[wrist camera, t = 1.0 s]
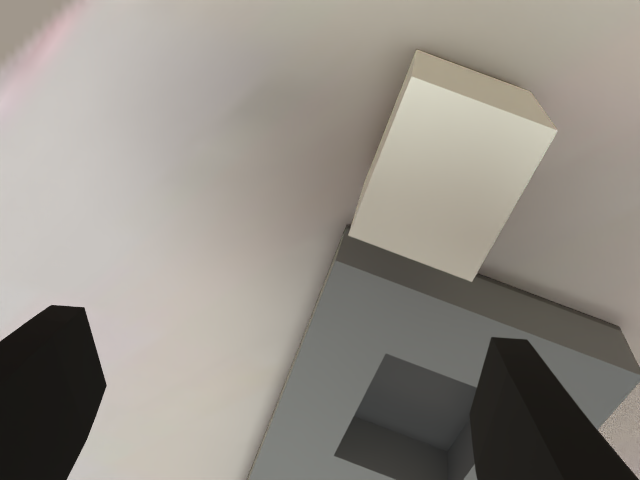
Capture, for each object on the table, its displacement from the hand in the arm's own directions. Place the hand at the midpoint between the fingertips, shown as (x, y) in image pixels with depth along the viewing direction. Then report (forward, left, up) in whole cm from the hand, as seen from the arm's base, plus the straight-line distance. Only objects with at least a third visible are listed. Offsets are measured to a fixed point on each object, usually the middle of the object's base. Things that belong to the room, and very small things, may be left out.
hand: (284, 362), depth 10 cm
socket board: (-7, +15, -13) cm, 21 cm away
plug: (-3, -2, -13) cm, 13 cm away
